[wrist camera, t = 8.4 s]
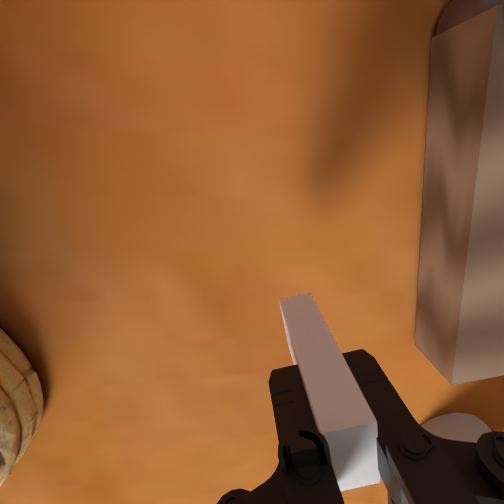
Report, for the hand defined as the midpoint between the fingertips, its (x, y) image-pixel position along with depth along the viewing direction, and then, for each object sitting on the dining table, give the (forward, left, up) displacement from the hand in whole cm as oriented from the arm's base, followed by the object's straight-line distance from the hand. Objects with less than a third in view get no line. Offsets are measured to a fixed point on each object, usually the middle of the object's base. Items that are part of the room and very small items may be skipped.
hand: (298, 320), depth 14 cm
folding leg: (-2, +12, -6) cm, 13 cm away
